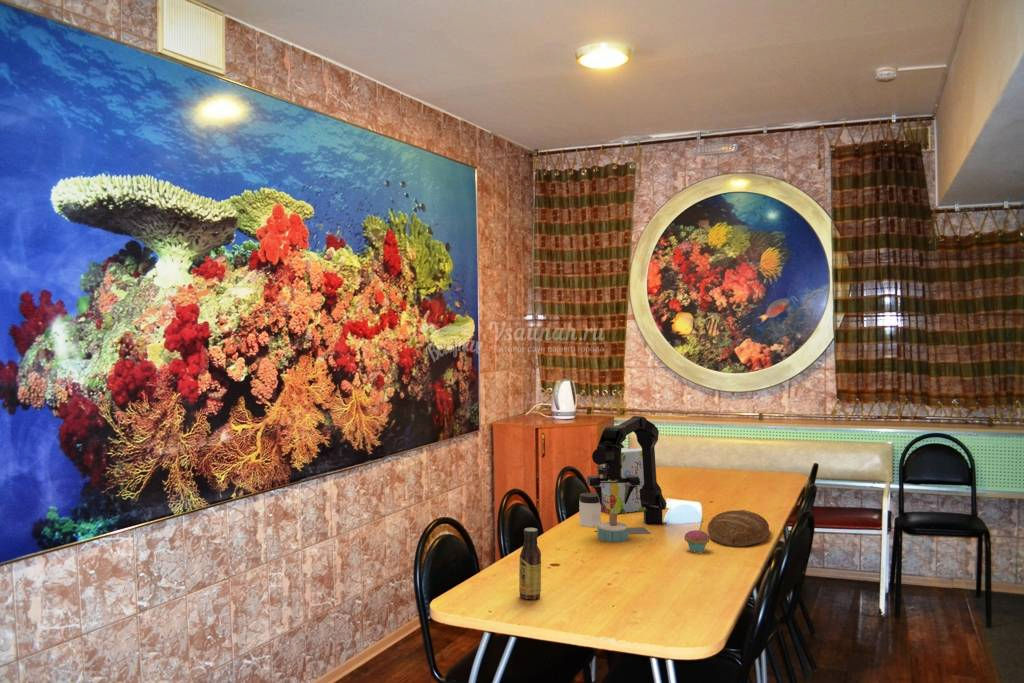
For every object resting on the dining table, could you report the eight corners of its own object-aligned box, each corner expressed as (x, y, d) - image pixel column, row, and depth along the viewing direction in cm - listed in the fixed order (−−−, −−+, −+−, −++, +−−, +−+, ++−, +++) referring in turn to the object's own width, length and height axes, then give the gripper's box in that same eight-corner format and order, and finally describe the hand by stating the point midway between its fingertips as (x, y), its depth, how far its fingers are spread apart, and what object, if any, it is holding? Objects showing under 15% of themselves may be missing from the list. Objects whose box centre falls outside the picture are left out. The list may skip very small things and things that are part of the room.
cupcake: (710, 549, 299) (710, 514, 298) (707, 555, 291) (708, 520, 290) (685, 546, 302) (686, 513, 301) (682, 552, 294) (682, 518, 293)
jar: (587, 528, 327) (587, 497, 327) (574, 524, 334) (574, 494, 334) (605, 525, 332) (605, 495, 332) (592, 521, 339) (592, 491, 339)
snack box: (642, 506, 368) (642, 447, 367) (653, 510, 360) (654, 449, 359) (598, 511, 358) (599, 450, 358) (610, 515, 350) (610, 453, 350)
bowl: (623, 534, 318) (623, 524, 318) (631, 542, 307) (631, 531, 307) (594, 535, 317) (594, 525, 316) (601, 543, 305) (601, 532, 305)
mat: (643, 528, 329) (643, 527, 329) (651, 534, 319) (651, 533, 319) (618, 528, 327) (618, 527, 327) (625, 535, 317) (625, 534, 317)
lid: (622, 524, 317) (623, 510, 317) (630, 531, 307) (630, 516, 307) (596, 525, 316) (596, 511, 316) (602, 532, 306) (602, 517, 306)
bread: (772, 527, 332) (772, 506, 332) (765, 551, 297) (765, 527, 297) (714, 522, 340) (715, 501, 340) (701, 545, 305) (701, 521, 305)
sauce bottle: (518, 594, 248) (518, 526, 248) (539, 593, 249) (539, 525, 248) (520, 601, 242) (520, 531, 241) (542, 601, 242) (542, 531, 242)
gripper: (632, 457, 320) (632, 499, 321) (583, 458, 318) (583, 500, 318) (640, 462, 309) (640, 505, 310) (590, 463, 307) (589, 506, 307)
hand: (613, 504), depth 311 cm, fingers open, 9 cm apart
